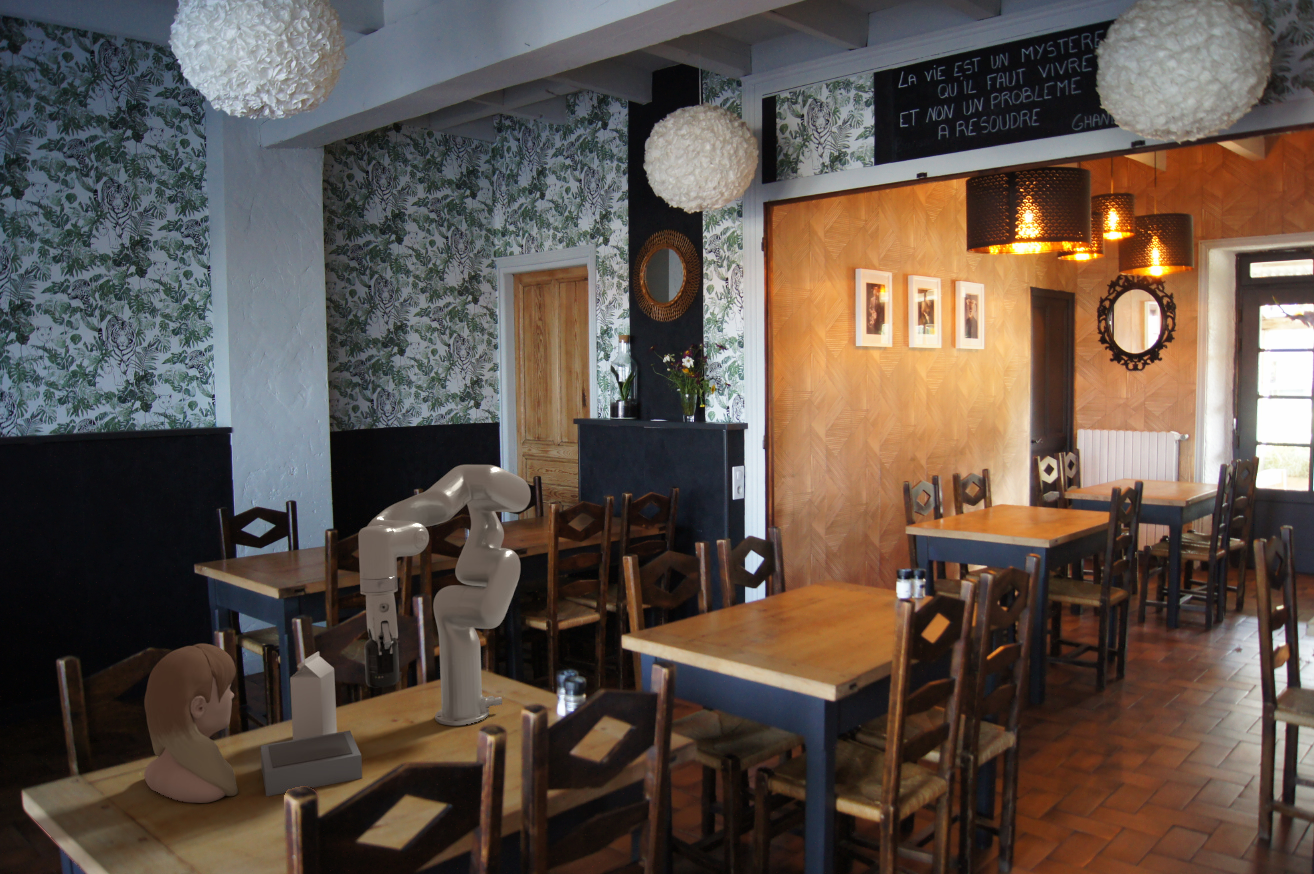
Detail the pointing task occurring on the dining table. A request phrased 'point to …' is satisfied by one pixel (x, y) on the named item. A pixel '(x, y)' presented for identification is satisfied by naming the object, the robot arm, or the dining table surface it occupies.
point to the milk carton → (313, 698)
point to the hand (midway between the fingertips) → (382, 667)
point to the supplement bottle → (371, 664)
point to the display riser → (310, 762)
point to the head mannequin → (190, 724)
